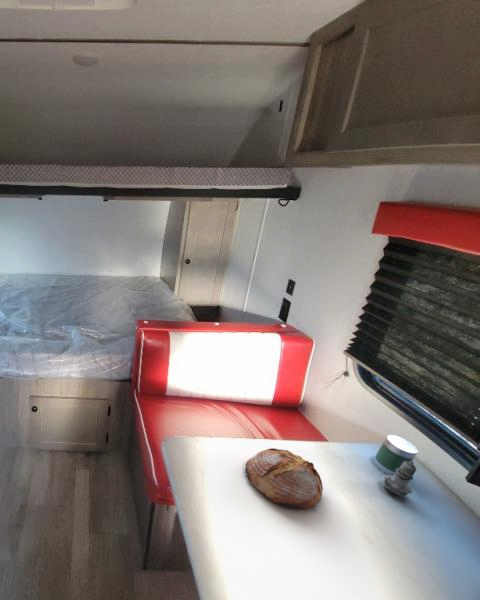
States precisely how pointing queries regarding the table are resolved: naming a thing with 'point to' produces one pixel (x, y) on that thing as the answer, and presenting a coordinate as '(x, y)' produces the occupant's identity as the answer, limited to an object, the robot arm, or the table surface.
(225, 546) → the table surface
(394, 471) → the tin can
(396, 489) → the grey stone statuette
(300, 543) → the table surface
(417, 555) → the table surface
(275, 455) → the bread
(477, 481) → the robot arm
